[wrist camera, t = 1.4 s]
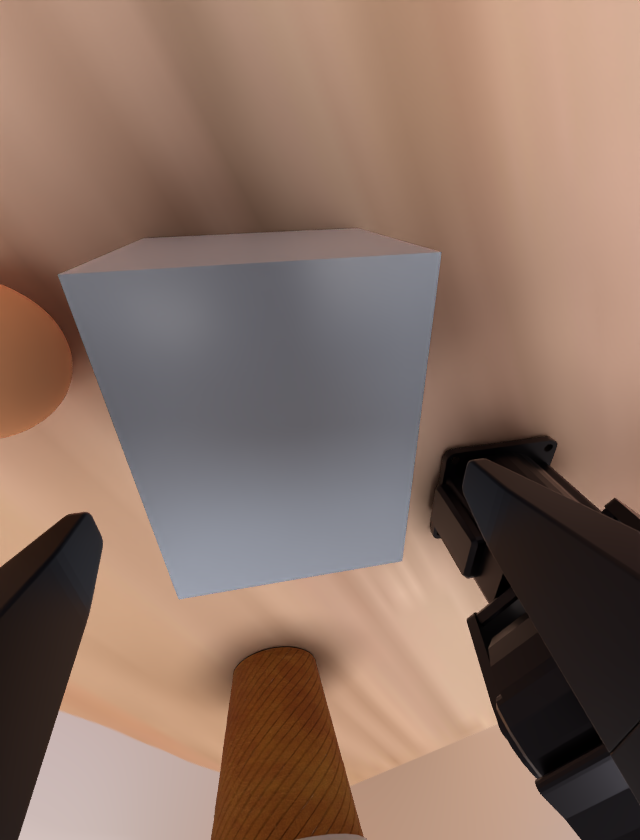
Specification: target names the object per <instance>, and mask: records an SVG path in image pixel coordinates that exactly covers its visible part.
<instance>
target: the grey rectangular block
mask: <svg viewBox="0 0 640 840" xmlns="http://www.w3.org/2000/svg"><path fill="white" fill-rule="evenodd" d="M441 253H442V252H440V251H436V250H433V249H429V248H426V247H422V246H419V245H415V244H412V243H408V242H405V241H401V240H398V239H394V238H391V237H387V236H384V235H380V234H377V233H374V232H370V231H367V230H363V229H360V228H344V229H324V230H303V231H282V232H261V233H241V234H220V235H199V236H178V237H157V238H142V239H140V240H138V241H135V242H133V243H131V244H128V245H126V246H124V247H121V248H119V249H117V250H114V251H112V252H109V253H107V254H105V255H102V256H100V257H98V258H95V259H93V260H91V261H88V262H86V263H84V264H81V265H79V266H77V267H74V268H72V269H70V270H67V271H65V272H63V273H60V274H58V277H59V280H60V282H61V285H62V288H63V290H64V293H65V296H66V298H67V301H68V304H69V306H70V309H71V312H72V315H73V317H74V320H75V323H76V325H77V328H78V331H79V333H80V336H81V339H82V341H83V344H84V347H85V349H86V352H87V355H88V357H89V360H90V363H91V366H92V368H93V371H94V374H95V376H96V379H97V382H98V384H99V387H100V390H101V392H102V395H103V398H104V400H105V403H106V406H107V408H108V411H109V414H110V417H111V419H112V422H113V425H114V427H115V430H116V433H117V435H118V438H119V441H120V443H121V446H122V449H123V451H124V454H125V457H126V459H127V462H128V465H129V468H130V470H131V473H132V476H133V478H134V481H135V484H136V486H137V489H138V492H139V494H140V497H141V500H142V502H143V505H144V508H145V510H146V513H147V516H148V518H149V521H150V524H151V527H152V529H153V532H154V535H155V537H156V540H157V543H158V545H159V548H160V551H161V553H162V556H163V559H164V561H165V564H166V567H167V569H168V572H169V575H170V578H171V580H172V583H173V586H174V588H175V591H176V594H177V596H178V599H184V598H190V597H196V596H201V595H207V594H213V593H219V592H225V591H231V590H237V589H242V588H248V587H254V586H260V585H266V584H272V583H277V582H283V581H289V580H295V579H301V578H307V577H312V576H318V575H324V574H330V573H336V572H342V571H347V570H353V569H359V568H365V567H371V566H377V565H382V564H388V563H394V562H400V561H402V558H403V551H404V543H405V535H406V527H407V519H408V511H409V504H410V496H411V488H412V480H413V472H414V464H415V456H416V449H417V441H418V433H419V425H420V417H421V409H422V402H423V394H424V386H425V378H426V370H427V362H428V355H429V347H430V339H431V331H432V323H433V315H434V308H435V300H436V292H437V284H438V276H439V268H440V260H441Z"/></svg>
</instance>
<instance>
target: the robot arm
mask: <svg viewBox="0 0 640 840" xmlns="http://www.w3.org/2000/svg"><path fill="white" fill-rule="evenodd" d="M556 447H557V442H556V441H555V440H553V439H552V438H551V437H548V436H545V437H538V438H530V439H523V440H515V441H508V442H500V443H492V444H485V445H477V446H470V447H462V448H455V449H450V450H448V451H447V452H446V453H445V454H444V456H443V460H442V466H441V471H440V477H439V483H438V486H437V487H436V489H435V495H434V501H433V507H432V512H431V521H432V523H431V528H430V530H431V533H432V535H433V536H434V537H435V538H441V539H442V540H443V542H444V544H445V546H446V547H447V549H448V551H449V553H450V554H451V556H452V558H453V560H454V561H455V563H456V565H457V567H458V568H459V570H460V572H461V574H462V575H463V576H465V577H466V578H474V580H475V581H476V583H477V585H478V586H479V588H480V590H481V591H482V593H483V595H484V596H485V598H486V600H487V601H488V603H489V604H488V605H487V606H486V607H484V608H483V609H482V610H481V611H479V612H478V613H474V614H472V615H471V616H470V617H469V618H467V624H468V627H469V630H470V634H471V637H472V640H473V644H474V647H475V650H476V654H477V657H478V661H479V664H480V667H481V671H482V674H483V677H484V681H485V684H486V687H487V691H488V694H489V697H490V701H491V704H492V707H493V710H494V713H495V716H496V718H497V722H498V725H499V728H500V730H501V732H502V734H503V735H504V736H505V738H506V739H507V740H508V742H509V743H510V745H511V747H512V749H513V750H514V751H515V753H516V754H517V755H518V757H519V758H520V760H521V761H522V763H523V764H524V765H525V766H526V767H527V768H528V770H529V771H530V772H531V773H532V774H533V775H534V776H535V777H536V778H537V779H536V780H535V784H536V787H537V789H538V791H539V792H540V794H542V796H543V797H544V798H545V799H546V800H547V801H548V802H549V803H550V804H551V805H552V806H553V807H554V808H555V809H556V810H557V811H558V812H559V813H560V814H561V815H562V816H563V817H564V819H565V820H566V821H567V822H568V823H569V825H570V826H571V827H572V828H573V830H574V831H575V832H576V833H577V835H578V836H579V837H580V839H581V840H640V515H639V514H638V513H636V512H635V511H633V510H632V509H630V508H629V507H628V506H626V505H625V504H623V503H622V502H620V501H619V500H618V499H616V498H614V499H612V500H611V501H610V502H609V503H607V504H606V505H605V506H604V507H605V509H604V510H603V511H602V512H601V511H600V510H599V509H598V508H597V507H596V506H595V505H593V504H592V503H591V502H590V501H589V500H588V499H587V498H586V497H584V496H583V495H582V494H581V493H580V492H579V491H578V490H576V489H575V488H574V487H573V486H572V485H571V484H570V483H569V482H567V481H566V480H565V479H564V478H563V477H562V476H561V475H560V474H558V473H557V472H556V471H555V470H554V469H553V468H552V467H551V466H550V464H551V461H552V458H553V456H554V453H555V450H556ZM454 457H455V458H454ZM452 458H454V459H453V460H451V459H452ZM102 548H103V540H102V536H101V534H100V532H99V530H98V528H97V526H96V524H95V521H94V519H93V517H92V516H91V514H90V513H88V512H81V513H73V514H68V515H66V516H65V517H64V518H62V519H61V520H60V521H58V522H57V523H56V524H55V525H53V526H52V527H51V528H50V529H48V530H47V531H46V532H45V533H43V534H42V535H41V536H39V537H38V538H37V539H36V540H34V541H33V542H32V543H31V544H29V545H28V546H27V547H26V548H24V549H23V550H22V551H20V552H19V553H18V554H17V555H15V556H14V557H13V558H12V559H10V560H9V561H8V562H7V563H5V564H4V565H3V566H2V567H0V840H18V837H19V835H20V831H21V828H22V825H23V822H24V819H25V816H26V813H27V809H28V806H29V803H30V800H31V797H32V794H33V790H34V787H35V784H36V781H37V777H38V775H39V771H40V768H41V765H42V762H43V759H44V756H45V752H46V749H47V746H48V743H49V740H50V736H51V734H52V730H53V727H54V724H55V721H56V718H57V715H58V711H59V708H60V705H61V702H62V699H63V696H64V693H65V689H66V686H67V683H68V680H69V677H70V674H71V670H72V667H73V664H74V661H75V658H76V655H77V651H78V648H79V645H80V642H81V639H82V636H83V633H84V629H85V626H86V623H87V619H88V616H89V612H90V608H91V604H92V599H93V594H94V589H95V584H96V578H97V573H98V568H99V563H100V558H101V553H102Z"/></svg>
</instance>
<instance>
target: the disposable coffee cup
mask: <svg viewBox="0 0 640 840" xmlns="http://www.w3.org/2000/svg"><path fill="white" fill-rule="evenodd" d="M211 840H367V839H366V838H364V836H363V833H362V830H361V826H360V823H359V818H358V815H357V812H356V808H355V805H354V801H353V797H352V793H351V790H350V786H349V782H348V779H347V775H346V771H345V767H344V763H343V761H342V757H341V753H340V750H339V746H338V742H337V738H336V735H335V731H334V727H333V724H332V720H331V716H330V713H329V709H328V706H327V702H326V698H325V695H324V691H323V687H322V684H321V680H320V676H319V673H318V669H317V665H316V661H315V658H314V657H313V656H312V655H311V654H310V653H309V652H307V651H304V650H302V649H298V648H291V647H281V648H273V649H267V650H264V651H261V652H258V653H256V654H253V655H251V656H249V657H248V658H246V659H245V660H243V661H242V662H241V663H240V664H239V665H238V666H237V667H236V669H235V671H234V673H233V681H232V689H231V696H230V703H229V711H228V717H227V726H226V732H225V739H224V747H223V755H222V763H221V771H220V778H219V785H218V792H217V799H216V806H215V815H214V823H213V829H212V835H211Z"/></svg>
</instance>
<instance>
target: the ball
mask: <svg viewBox="0 0 640 840" xmlns="http://www.w3.org/2000/svg"><path fill="white" fill-rule="evenodd" d="M71 378H72V356H71V351H70V348H69V345H68V343H67V340H66V338H65V336H64V334H63V332H62V331H61V329H60V328H59V326H58V325H57V323H56V322H55V321H54V320H53V318H52V317H51V316H50V315H49V314H48V313H47V312H46V311H45V310H44V309H42V308H41V307H40V306H39V305H38V304H36V303H35V302H33V301H32V300H30V299H29V298H28V297H26V296H24V295H22V294H20V293H19V292H17V291H15V290H13V289H11V288H8V287H6V286H4V285H1V284H0V438H5V437H9V436H12V435H15V434H18V433H21V432H23V431H26V430H28V429H30V428H32V427H34V426H35V425H37V424H39V423H40V422H42V421H43V420H45V419H46V418H47V417H48V416H49V415H50V414H52V413H53V412H54V411H55V410H56V408H57V407H58V406H59V405H60V403H61V402H62V400H63V399H64V397H65V395H66V394H67V391H68V388H69V385H70V383H71Z"/></svg>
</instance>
